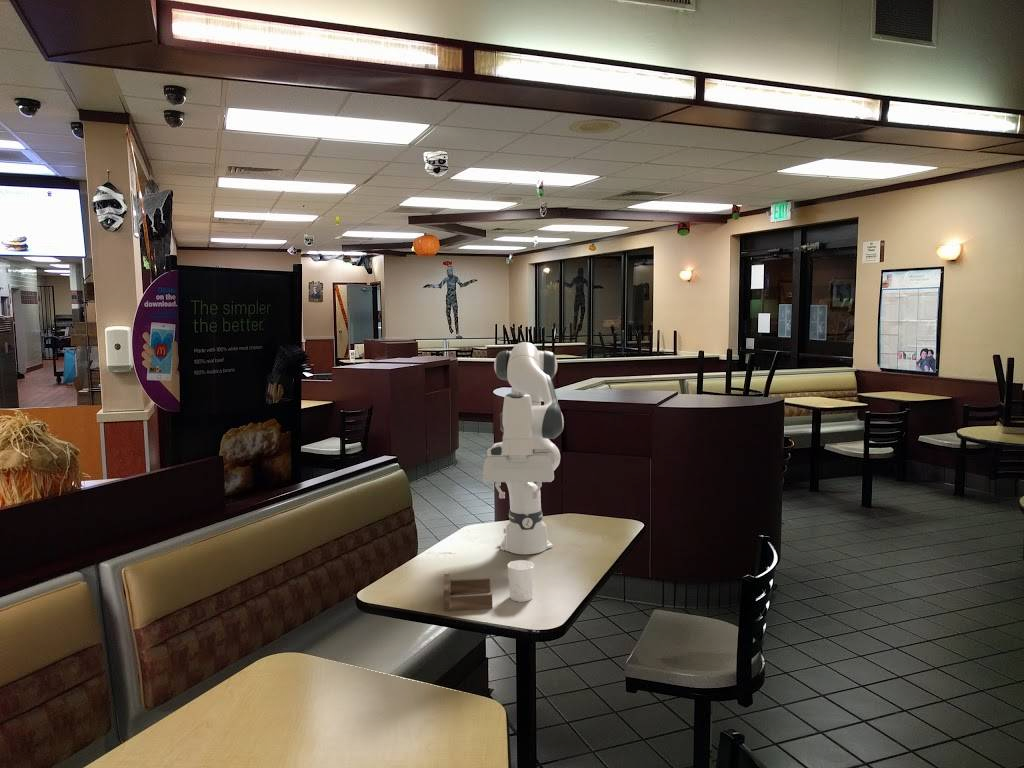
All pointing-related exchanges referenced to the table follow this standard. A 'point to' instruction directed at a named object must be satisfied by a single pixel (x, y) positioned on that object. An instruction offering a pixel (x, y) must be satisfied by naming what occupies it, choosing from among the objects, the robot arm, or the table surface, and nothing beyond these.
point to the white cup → (521, 580)
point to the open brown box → (467, 600)
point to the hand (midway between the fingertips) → (518, 498)
